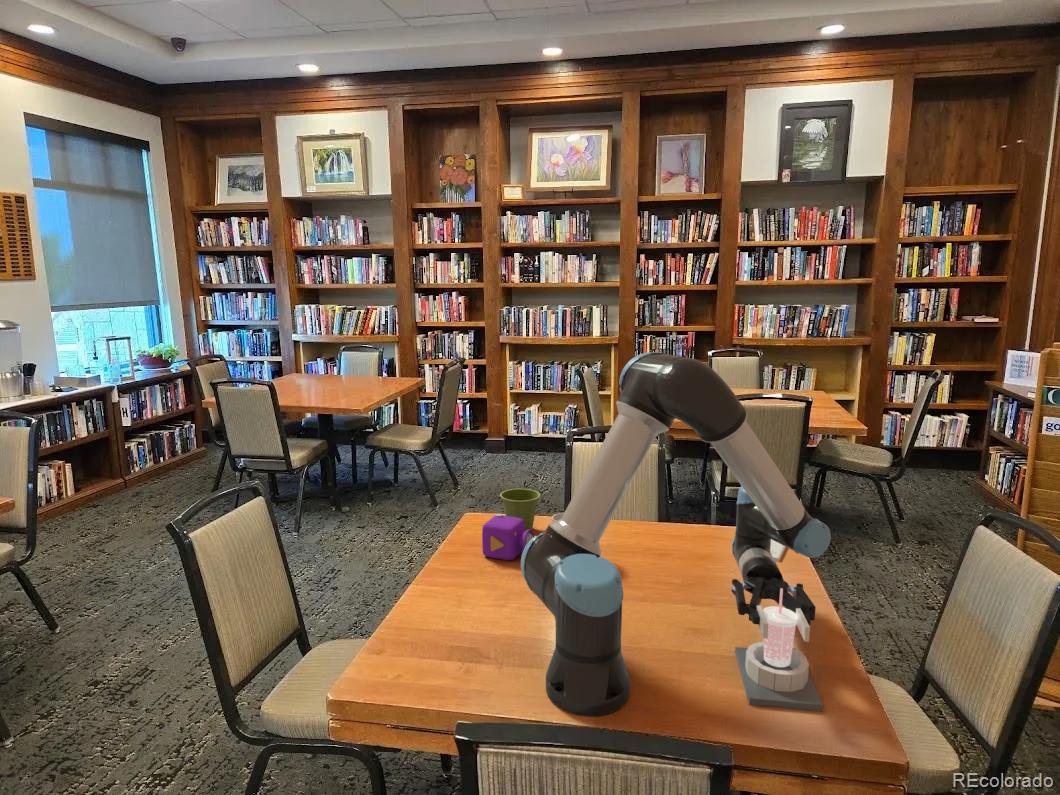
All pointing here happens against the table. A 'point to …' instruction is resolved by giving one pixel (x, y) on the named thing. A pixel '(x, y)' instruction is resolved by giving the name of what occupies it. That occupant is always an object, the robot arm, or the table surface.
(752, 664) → the cup holder
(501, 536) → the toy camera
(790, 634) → the beverage cup
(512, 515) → the plant pot
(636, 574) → the table surface
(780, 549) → the external hard drive
